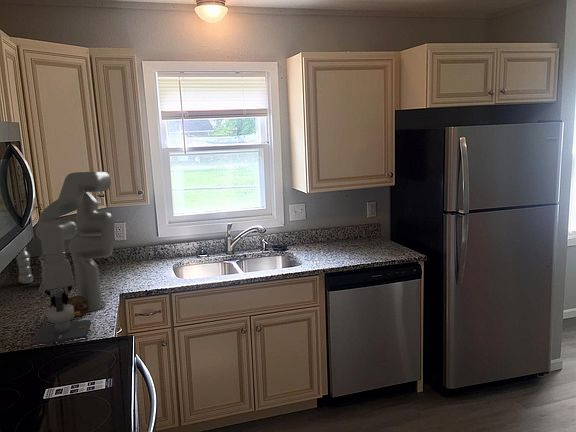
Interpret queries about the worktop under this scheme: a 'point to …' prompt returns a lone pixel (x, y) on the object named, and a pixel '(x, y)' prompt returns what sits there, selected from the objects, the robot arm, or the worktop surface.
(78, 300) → the tin
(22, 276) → the plastic bottle
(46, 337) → the mount
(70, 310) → the rotary knob
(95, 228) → the robot arm
